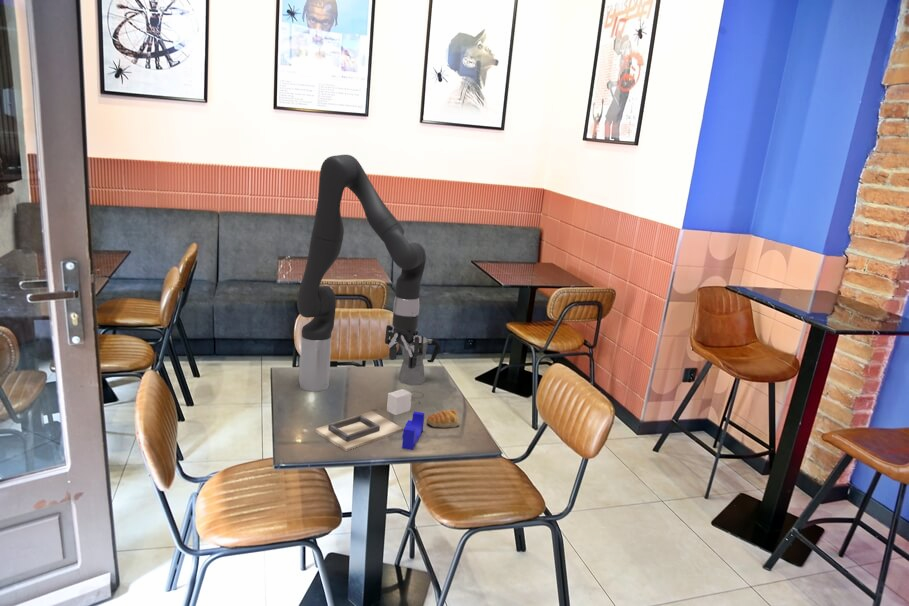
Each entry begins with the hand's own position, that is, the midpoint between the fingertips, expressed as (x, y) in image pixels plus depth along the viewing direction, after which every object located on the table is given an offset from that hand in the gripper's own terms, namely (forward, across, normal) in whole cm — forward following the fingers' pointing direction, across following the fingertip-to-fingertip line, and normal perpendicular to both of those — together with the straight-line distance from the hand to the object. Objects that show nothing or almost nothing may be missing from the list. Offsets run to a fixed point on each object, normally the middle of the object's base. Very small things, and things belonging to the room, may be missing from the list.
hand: (402, 363), depth 187 cm
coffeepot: (+16, -15, +21) cm, 30 cm away
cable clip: (+16, +16, -9) cm, 24 cm away
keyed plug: (+16, 0, 0) cm, 16 cm away
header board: (+15, +4, -18) cm, 24 cm away
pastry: (+16, +12, +4) cm, 20 cm away
